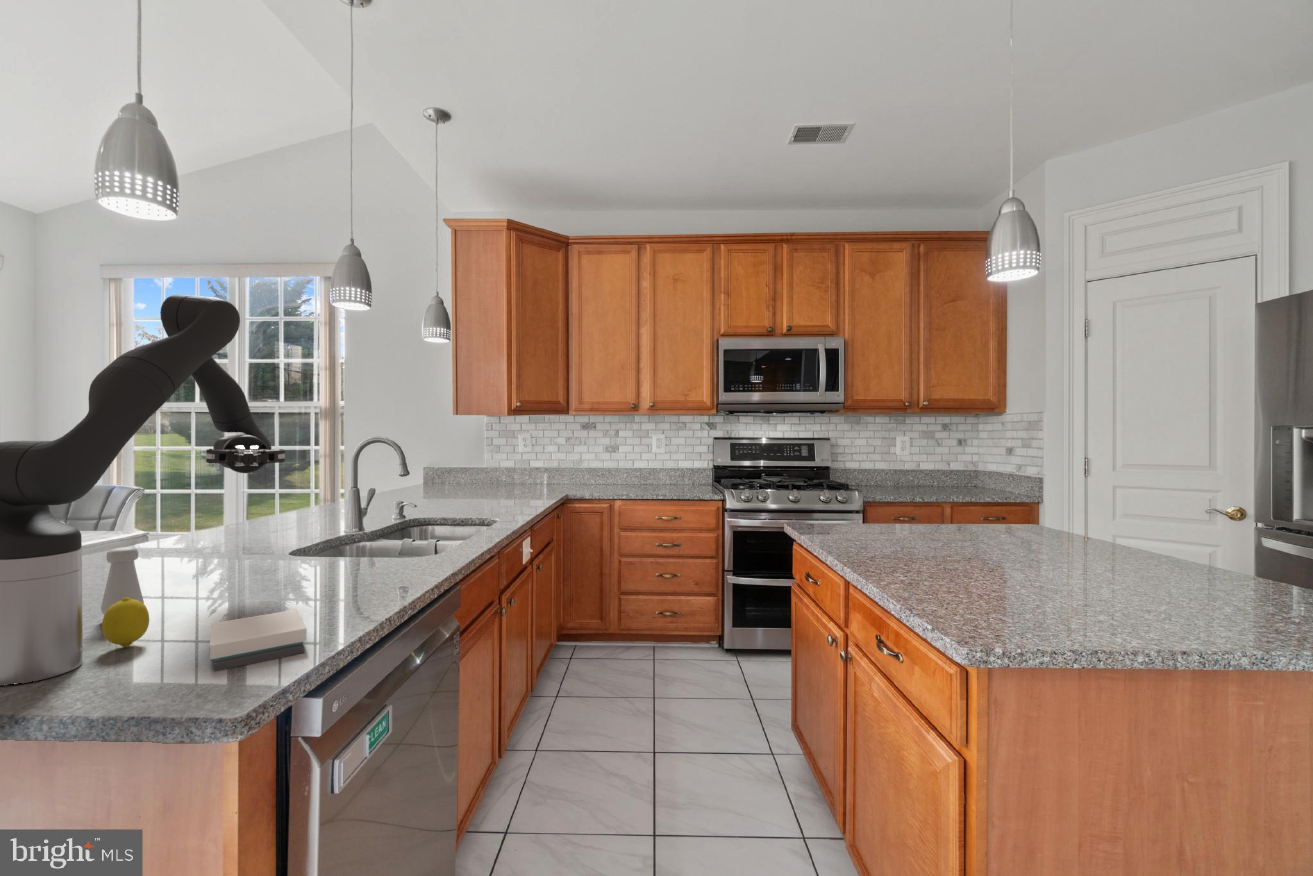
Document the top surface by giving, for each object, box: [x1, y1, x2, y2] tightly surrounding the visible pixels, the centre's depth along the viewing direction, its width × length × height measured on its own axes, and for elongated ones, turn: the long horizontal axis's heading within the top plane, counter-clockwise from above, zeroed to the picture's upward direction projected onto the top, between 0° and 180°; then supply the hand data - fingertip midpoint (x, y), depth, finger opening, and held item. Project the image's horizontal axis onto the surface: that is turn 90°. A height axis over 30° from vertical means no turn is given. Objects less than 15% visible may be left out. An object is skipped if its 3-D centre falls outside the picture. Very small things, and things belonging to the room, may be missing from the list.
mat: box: [214, 643, 305, 672], centre depth 90 cm, size 11×11×1 cm
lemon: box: [101, 597, 150, 648], centre depth 91 cm, size 6×6×8 cm
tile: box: [209, 609, 308, 662], centre depth 91 cm, size 12×2×12 cm
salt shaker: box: [100, 546, 145, 616], centre depth 104 cm, size 6×6×13 cm
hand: (248, 459), depth 103 cm, fingers closed
